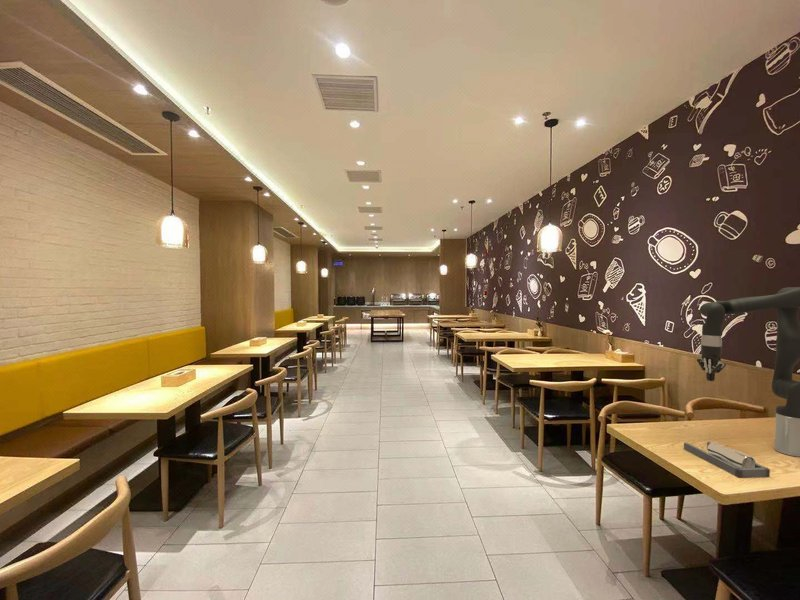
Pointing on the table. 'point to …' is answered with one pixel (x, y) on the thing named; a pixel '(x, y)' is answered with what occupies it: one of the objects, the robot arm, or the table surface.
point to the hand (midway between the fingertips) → (710, 380)
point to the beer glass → (731, 456)
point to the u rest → (739, 472)
